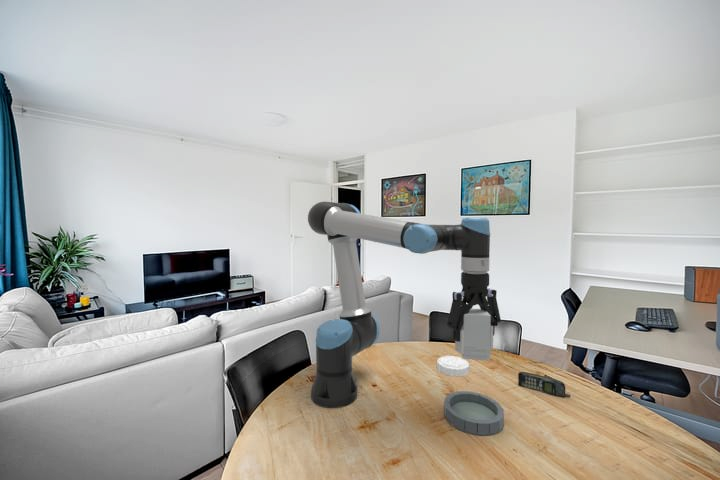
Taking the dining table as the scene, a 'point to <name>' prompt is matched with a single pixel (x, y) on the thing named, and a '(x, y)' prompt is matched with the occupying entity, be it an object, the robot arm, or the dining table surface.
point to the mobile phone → (542, 384)
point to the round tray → (474, 413)
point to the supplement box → (477, 335)
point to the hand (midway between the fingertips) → (474, 349)
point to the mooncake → (453, 366)
